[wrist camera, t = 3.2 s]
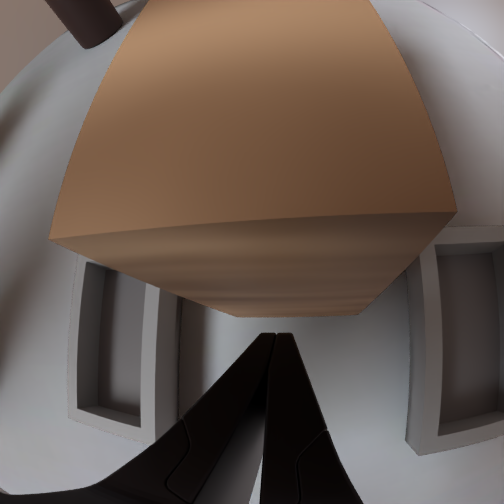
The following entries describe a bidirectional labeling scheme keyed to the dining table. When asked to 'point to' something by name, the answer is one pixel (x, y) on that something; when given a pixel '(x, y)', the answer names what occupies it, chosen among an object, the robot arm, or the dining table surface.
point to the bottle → (87, 19)
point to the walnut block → (257, 158)
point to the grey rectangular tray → (122, 353)
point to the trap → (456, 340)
